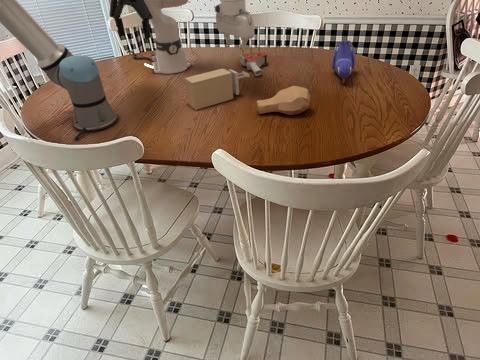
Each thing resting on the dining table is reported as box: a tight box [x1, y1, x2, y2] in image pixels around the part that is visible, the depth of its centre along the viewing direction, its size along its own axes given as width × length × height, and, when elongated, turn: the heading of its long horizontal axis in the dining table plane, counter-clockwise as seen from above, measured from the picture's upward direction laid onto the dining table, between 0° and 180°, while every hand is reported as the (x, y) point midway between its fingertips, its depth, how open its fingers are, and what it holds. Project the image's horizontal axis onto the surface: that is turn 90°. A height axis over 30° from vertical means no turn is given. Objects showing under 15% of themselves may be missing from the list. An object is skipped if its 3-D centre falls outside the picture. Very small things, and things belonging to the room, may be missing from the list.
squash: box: [255, 85, 312, 116], centre depth 130 cm, size 11×20×9 cm, turn 92°
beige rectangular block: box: [184, 68, 234, 111], centre depth 140 cm, size 17×7×11 cm, turn 121°
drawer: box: [228, 68, 251, 96], centre depth 143 cm, size 22×5×9 cm, turn 121°
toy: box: [331, 39, 356, 84], centre depth 153 cm, size 10×17×25 cm
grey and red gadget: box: [239, 51, 268, 77], centre depth 171 cm, size 18×5×20 cm
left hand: (135, 37), depth 144 cm, fingers open, 13 cm apart
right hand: (236, 46), depth 139 cm, fingers open, 8 cm apart
